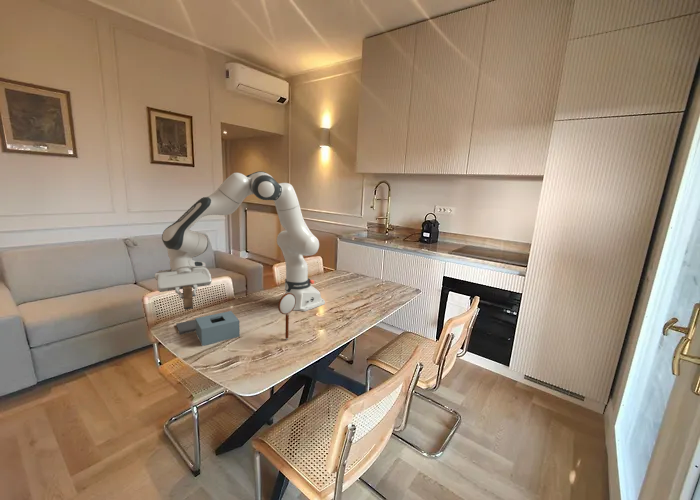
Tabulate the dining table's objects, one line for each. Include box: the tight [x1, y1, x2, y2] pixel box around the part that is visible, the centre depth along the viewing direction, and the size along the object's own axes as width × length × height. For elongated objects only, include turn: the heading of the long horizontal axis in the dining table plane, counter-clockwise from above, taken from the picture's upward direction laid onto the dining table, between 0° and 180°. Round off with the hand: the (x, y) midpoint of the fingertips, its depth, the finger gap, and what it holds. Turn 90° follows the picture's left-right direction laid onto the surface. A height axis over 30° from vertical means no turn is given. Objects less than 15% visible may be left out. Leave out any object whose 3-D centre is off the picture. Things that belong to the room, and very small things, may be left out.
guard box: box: [194, 310, 241, 347], centre depth 120 cm, size 14×11×7 cm
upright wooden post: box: [182, 286, 194, 311], centre depth 123 cm, size 3×3×9 cm
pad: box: [175, 319, 196, 335], centre depth 126 cm, size 9×9×1 cm
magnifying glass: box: [277, 293, 296, 341], centre depth 118 cm, size 9×2×20 cm, turn 142°
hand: (188, 296), depth 122 cm, fingers closed on upright wooden post, 3 cm apart
